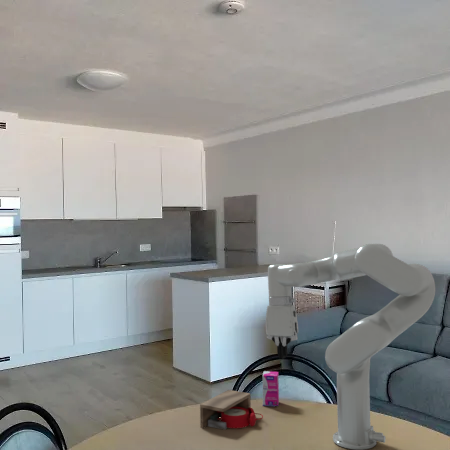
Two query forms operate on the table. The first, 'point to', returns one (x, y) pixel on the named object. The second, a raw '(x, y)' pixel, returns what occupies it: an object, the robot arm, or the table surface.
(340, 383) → the robot arm
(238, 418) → the alarm clock
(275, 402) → the supplement box
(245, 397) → the overhang shelf
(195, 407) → the table surface
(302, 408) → the table surface
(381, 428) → the table surface
